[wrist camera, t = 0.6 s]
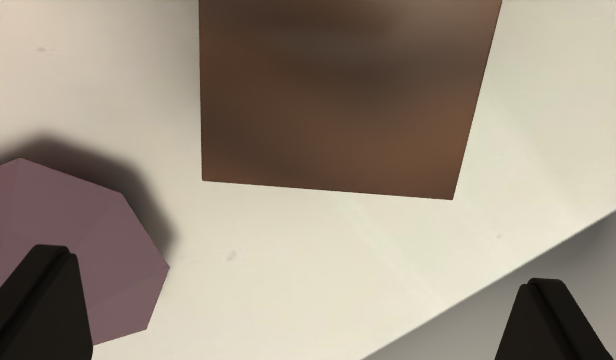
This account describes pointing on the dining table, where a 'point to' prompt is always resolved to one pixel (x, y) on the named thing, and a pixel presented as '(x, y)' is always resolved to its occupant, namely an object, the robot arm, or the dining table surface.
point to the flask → (83, 243)
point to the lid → (341, 92)
